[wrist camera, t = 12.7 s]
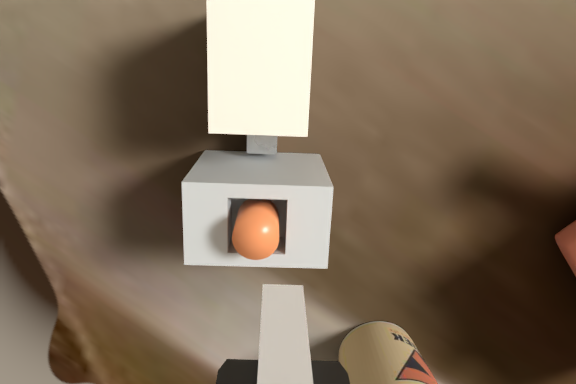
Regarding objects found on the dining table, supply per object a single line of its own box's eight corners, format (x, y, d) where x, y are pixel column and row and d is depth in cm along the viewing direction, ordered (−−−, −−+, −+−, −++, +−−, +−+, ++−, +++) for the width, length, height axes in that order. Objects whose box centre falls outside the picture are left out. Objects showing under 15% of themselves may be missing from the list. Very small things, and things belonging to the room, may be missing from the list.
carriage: (227, 7, 35) (206, -12, 25) (303, 11, 35) (315, -7, 25) (227, 110, 37) (208, 133, 27) (299, 113, 38) (307, 136, 27)
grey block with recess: (205, 150, 39) (181, 182, 29) (319, 154, 39) (333, 186, 30) (206, 214, 41) (184, 264, 31) (315, 218, 41) (327, 268, 31)
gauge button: (237, 196, 32) (232, 215, 28) (279, 197, 32) (280, 217, 28) (237, 235, 33) (231, 259, 29) (278, 236, 33) (278, 260, 29)
